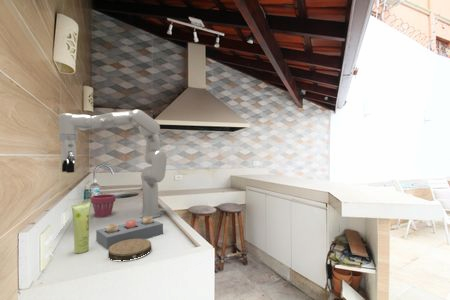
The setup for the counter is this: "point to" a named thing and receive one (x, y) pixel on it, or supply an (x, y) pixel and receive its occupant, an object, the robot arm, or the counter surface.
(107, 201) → the plant pot
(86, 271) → the counter surface
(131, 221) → the knob red
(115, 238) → the knob panel
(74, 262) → the counter surface
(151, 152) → the robot arm
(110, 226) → the knob
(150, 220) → the knob
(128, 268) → the counter surface
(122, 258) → the wood log slice
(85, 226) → the tube
